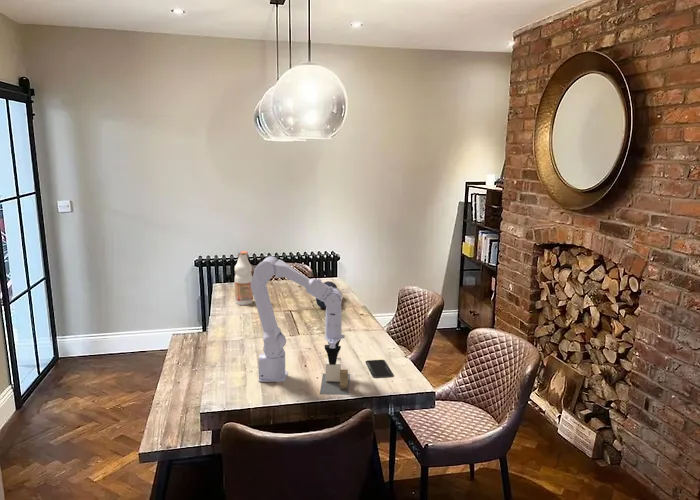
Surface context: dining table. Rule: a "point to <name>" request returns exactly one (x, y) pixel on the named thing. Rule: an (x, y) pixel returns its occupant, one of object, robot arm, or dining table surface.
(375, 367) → the phone
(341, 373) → the bronze post
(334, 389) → the base board
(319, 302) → the portable speaker
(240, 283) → the fruit juice
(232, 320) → the dining table surface
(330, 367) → the beige block
